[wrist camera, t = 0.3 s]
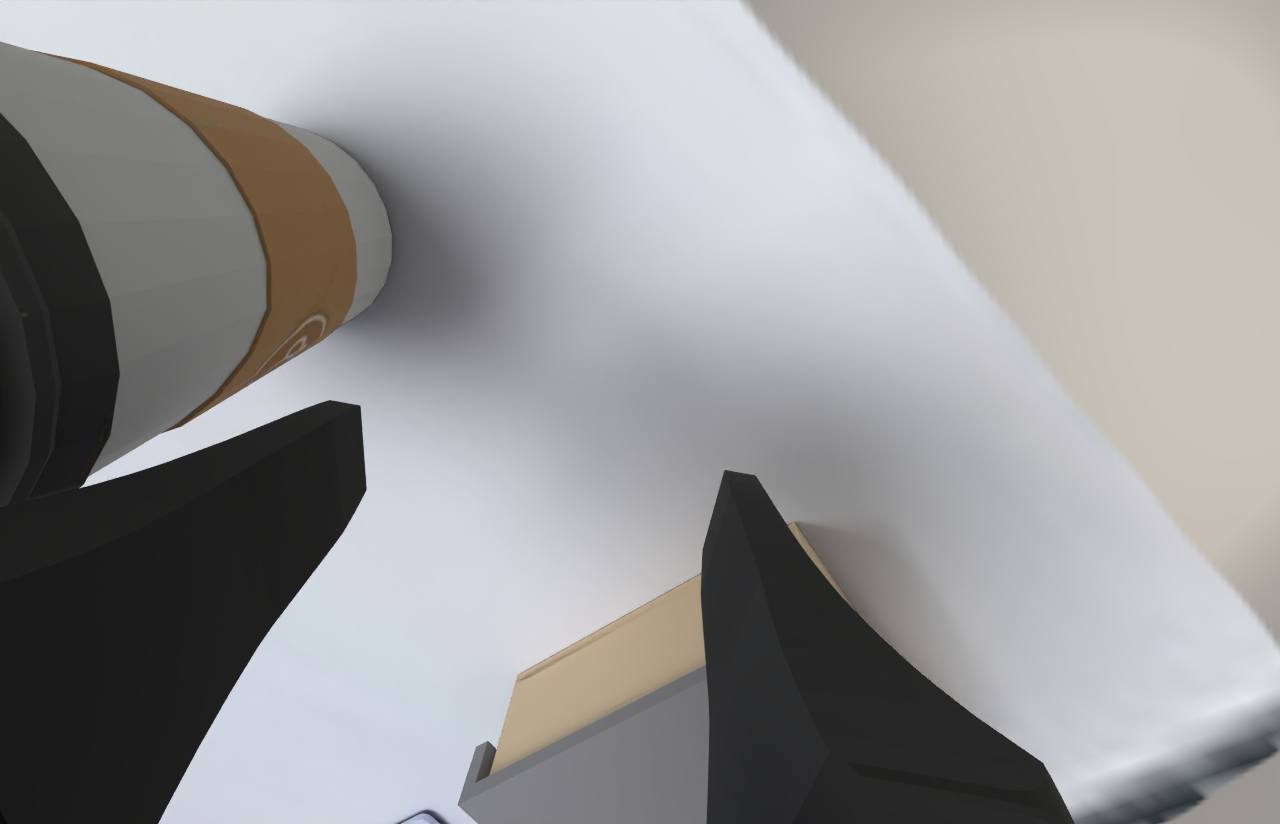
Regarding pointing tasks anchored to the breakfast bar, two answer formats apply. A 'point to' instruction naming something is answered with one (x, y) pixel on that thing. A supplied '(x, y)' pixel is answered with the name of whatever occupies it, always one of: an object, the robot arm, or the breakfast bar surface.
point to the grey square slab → (607, 768)
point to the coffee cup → (157, 260)
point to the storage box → (611, 669)
